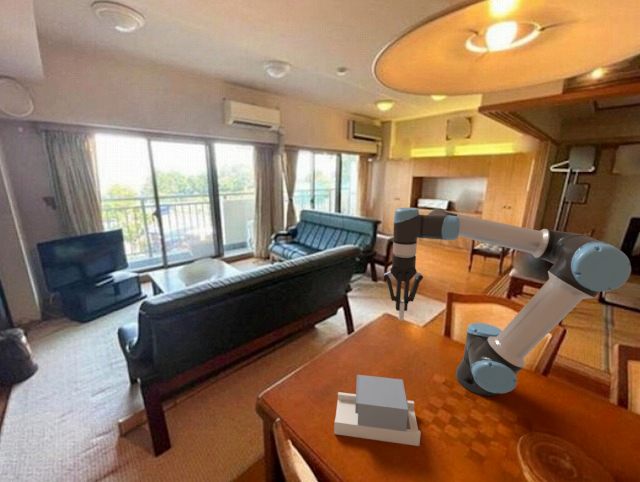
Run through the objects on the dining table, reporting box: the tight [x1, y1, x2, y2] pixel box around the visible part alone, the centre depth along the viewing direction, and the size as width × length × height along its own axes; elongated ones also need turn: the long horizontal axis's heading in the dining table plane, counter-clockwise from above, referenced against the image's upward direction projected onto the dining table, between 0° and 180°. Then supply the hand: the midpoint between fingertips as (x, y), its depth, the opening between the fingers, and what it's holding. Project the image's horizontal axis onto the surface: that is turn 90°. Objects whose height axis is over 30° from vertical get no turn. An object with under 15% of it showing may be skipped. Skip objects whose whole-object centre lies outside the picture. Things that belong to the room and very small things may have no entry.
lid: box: [355, 374, 408, 431], centre depth 88 cm, size 15×12×8 cm
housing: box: [333, 391, 422, 447], centre depth 89 cm, size 25×12×4 cm, turn 81°
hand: (400, 318), depth 99 cm, fingers closed
